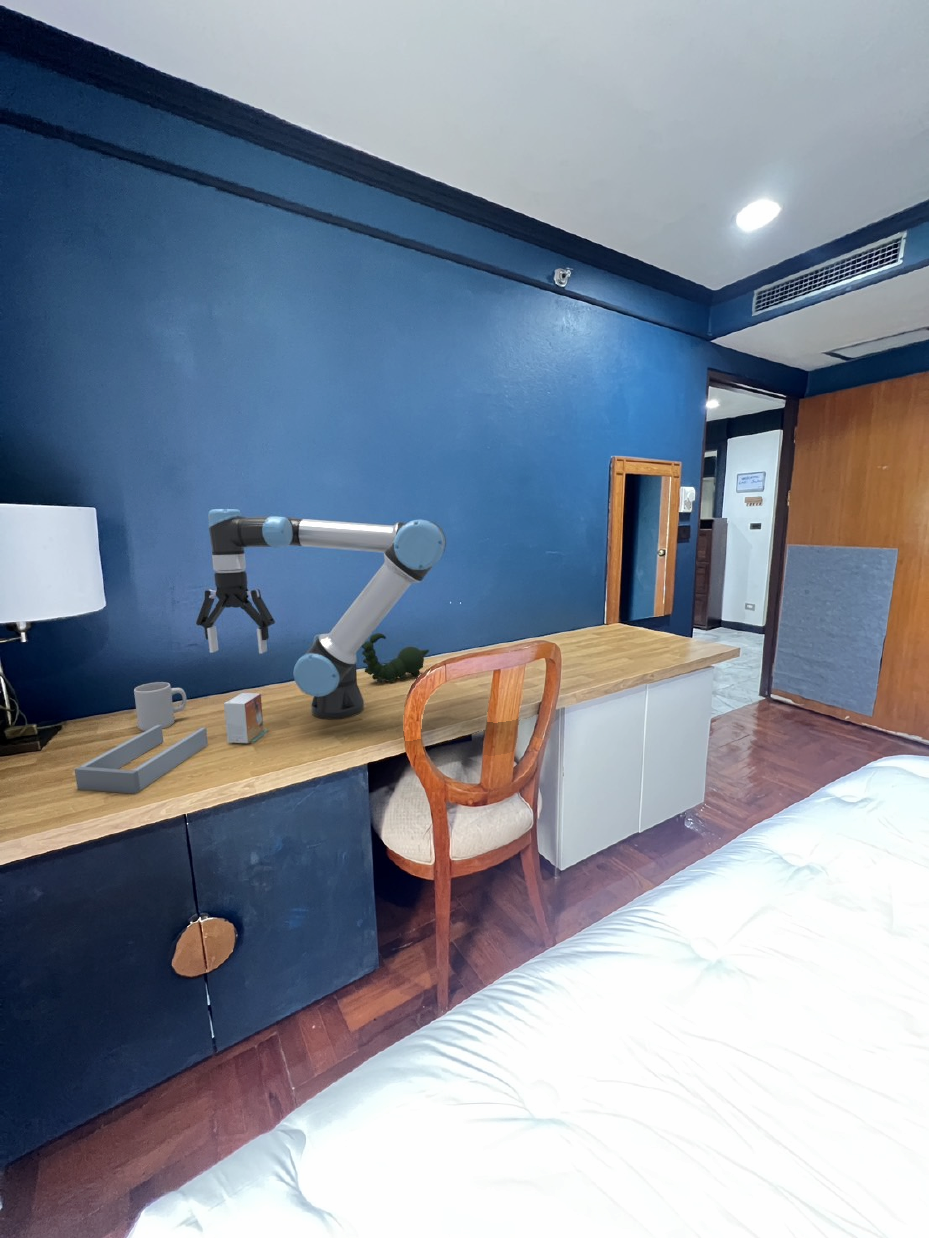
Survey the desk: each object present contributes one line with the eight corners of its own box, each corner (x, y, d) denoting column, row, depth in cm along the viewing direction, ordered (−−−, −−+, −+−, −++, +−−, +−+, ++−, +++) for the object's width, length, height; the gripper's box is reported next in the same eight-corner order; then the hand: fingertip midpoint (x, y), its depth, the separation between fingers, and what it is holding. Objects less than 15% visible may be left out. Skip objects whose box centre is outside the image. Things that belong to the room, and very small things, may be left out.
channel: (207, 744, 124) (206, 727, 123) (135, 793, 102) (133, 773, 101) (159, 741, 126) (157, 724, 125) (77, 789, 103) (74, 769, 102)
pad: (268, 731, 132) (267, 730, 132) (253, 742, 125) (253, 741, 125) (243, 730, 133) (243, 728, 133) (228, 741, 126) (227, 739, 126)
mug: (140, 733, 131) (135, 694, 128) (136, 723, 137) (131, 686, 135) (191, 722, 138) (187, 684, 136) (185, 713, 144) (181, 677, 142)
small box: (247, 744, 123) (244, 703, 122) (226, 742, 124) (223, 702, 122) (264, 730, 131) (261, 693, 129) (244, 729, 132) (241, 692, 130)
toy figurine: (374, 693, 166) (437, 674, 180) (367, 639, 162) (432, 624, 175) (363, 686, 174) (424, 668, 187) (356, 634, 170) (419, 620, 183)
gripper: (283, 569, 129) (290, 648, 133) (193, 569, 131) (203, 647, 135) (269, 572, 121) (276, 656, 125) (174, 572, 124) (185, 654, 128)
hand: (238, 651), depth 130 cm, fingers open, 13 cm apart
